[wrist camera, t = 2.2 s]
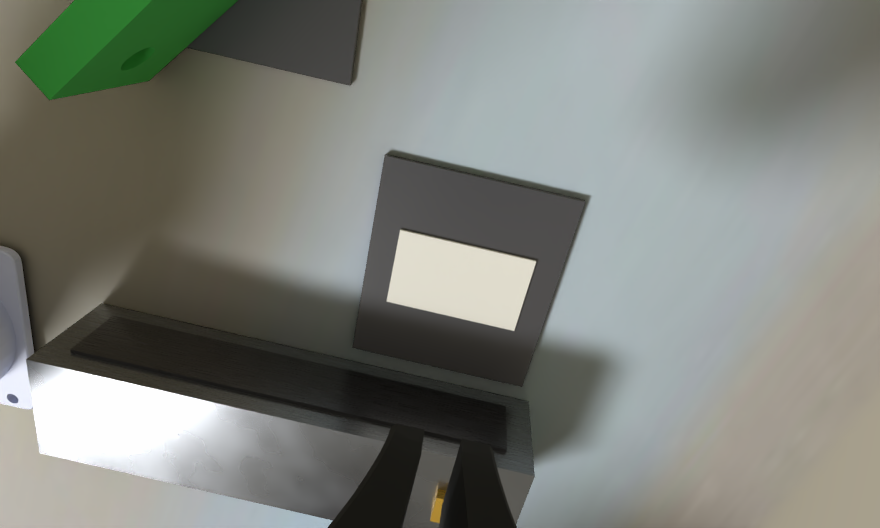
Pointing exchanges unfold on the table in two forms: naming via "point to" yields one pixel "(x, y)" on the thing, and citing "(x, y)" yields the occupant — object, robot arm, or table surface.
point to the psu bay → (257, 415)
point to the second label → (289, 36)
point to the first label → (461, 269)
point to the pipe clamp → (114, 43)
